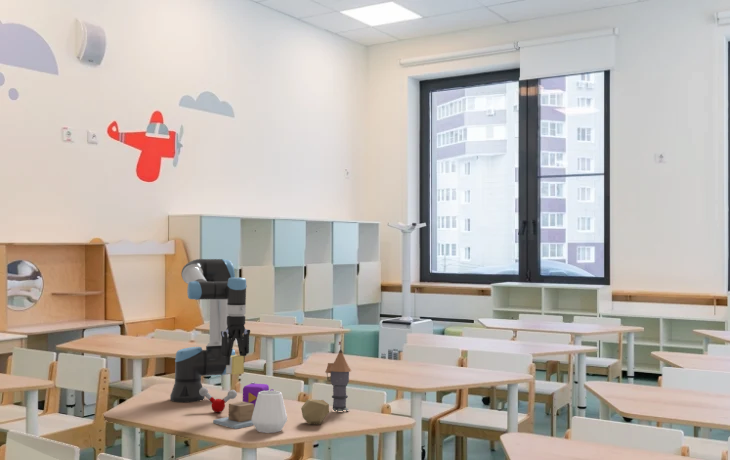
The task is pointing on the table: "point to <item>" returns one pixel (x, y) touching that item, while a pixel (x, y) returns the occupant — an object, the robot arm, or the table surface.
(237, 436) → the table surface
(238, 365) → the mustard block
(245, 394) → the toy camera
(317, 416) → the low-poly potato
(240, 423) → the plate
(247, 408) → the walnut block
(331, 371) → the model tower
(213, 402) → the molecular model
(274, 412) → the white faceted vase
